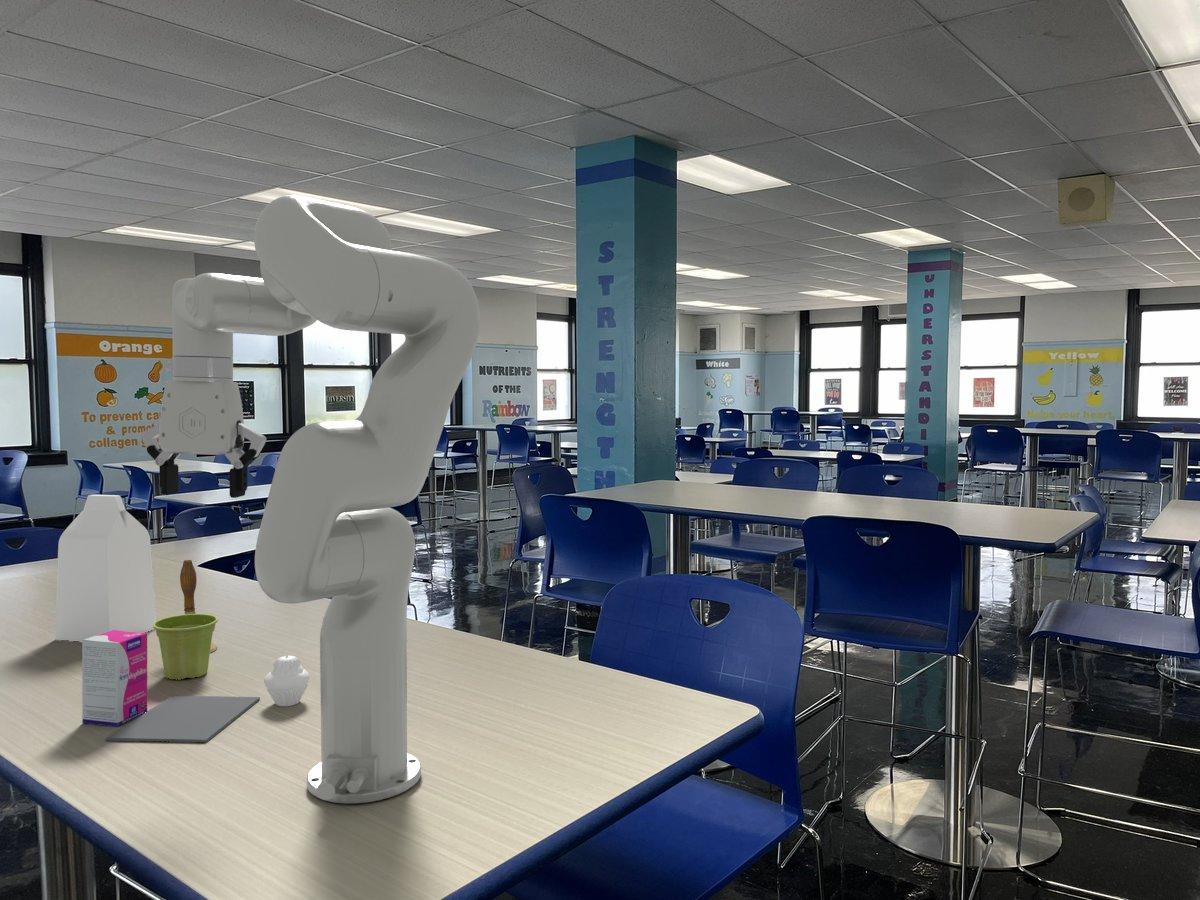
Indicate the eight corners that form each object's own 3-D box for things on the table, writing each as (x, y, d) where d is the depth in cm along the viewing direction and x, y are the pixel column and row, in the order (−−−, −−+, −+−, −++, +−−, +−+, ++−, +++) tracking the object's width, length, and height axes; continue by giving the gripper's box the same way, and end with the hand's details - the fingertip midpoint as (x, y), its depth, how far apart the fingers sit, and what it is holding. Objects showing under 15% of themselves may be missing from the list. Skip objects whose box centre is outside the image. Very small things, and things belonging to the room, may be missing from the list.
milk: (55, 640, 157) (50, 497, 156) (105, 624, 169) (101, 491, 167) (110, 644, 154) (106, 499, 153) (157, 628, 166) (154, 493, 164)
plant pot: (232, 668, 141) (231, 615, 140) (190, 686, 132) (188, 630, 131) (184, 663, 143) (182, 611, 143) (139, 681, 134) (138, 626, 134)
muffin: (319, 700, 126) (318, 653, 126) (284, 713, 121) (283, 663, 120) (290, 693, 129) (289, 646, 129) (255, 705, 124) (254, 657, 124)
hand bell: (171, 661, 145) (169, 566, 144) (159, 650, 151) (157, 559, 151) (223, 652, 150) (221, 561, 149) (209, 641, 157) (207, 554, 156)
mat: (206, 742, 110) (206, 739, 110) (106, 740, 111) (106, 737, 111) (259, 699, 126) (259, 697, 126) (172, 698, 127) (172, 695, 127)
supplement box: (119, 727, 115) (117, 642, 115) (81, 723, 116) (78, 639, 116) (150, 712, 121) (148, 631, 120) (113, 709, 122) (111, 628, 121)
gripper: (125, 368, 115) (127, 496, 117) (251, 372, 114) (251, 501, 115) (158, 369, 123) (159, 489, 124) (276, 373, 122) (276, 494, 123)
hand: (203, 495), depth 120 cm, fingers open, 9 cm apart
